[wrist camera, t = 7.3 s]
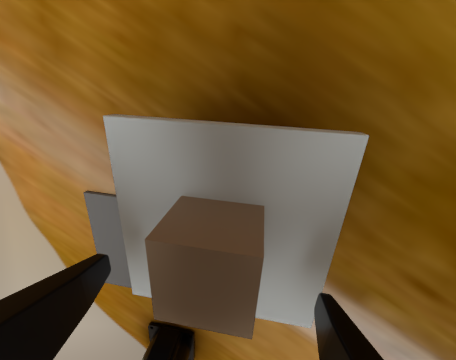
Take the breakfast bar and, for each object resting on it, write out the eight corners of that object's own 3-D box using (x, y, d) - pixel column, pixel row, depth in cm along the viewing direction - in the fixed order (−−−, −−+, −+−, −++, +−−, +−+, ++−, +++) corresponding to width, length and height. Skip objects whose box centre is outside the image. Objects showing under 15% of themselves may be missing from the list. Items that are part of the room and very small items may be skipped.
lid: (308, 315, 13) (326, 409, 9) (139, 283, 14) (93, 353, 10) (360, 132, 9) (435, 162, 5) (114, 114, 10) (22, 126, 6)
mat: (200, 298, 26) (199, 301, 26) (105, 279, 28) (103, 282, 28) (202, 207, 21) (201, 209, 21) (86, 191, 23) (83, 192, 23)
